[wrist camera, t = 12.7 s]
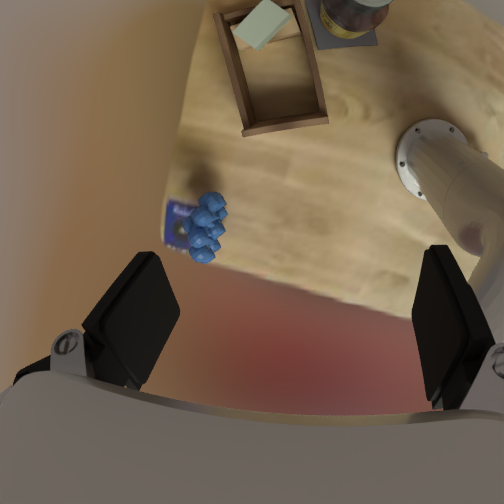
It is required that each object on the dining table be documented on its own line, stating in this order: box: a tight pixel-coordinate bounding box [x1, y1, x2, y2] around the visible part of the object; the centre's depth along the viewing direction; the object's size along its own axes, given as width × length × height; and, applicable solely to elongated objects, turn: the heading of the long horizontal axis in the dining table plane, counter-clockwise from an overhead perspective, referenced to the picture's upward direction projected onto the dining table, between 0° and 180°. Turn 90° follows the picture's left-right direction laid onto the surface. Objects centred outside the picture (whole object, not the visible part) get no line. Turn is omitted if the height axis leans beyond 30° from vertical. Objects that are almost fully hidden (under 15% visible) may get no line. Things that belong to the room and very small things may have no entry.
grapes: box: [181, 192, 228, 264], centre depth 44 cm, size 12×7×12 cm, turn 173°
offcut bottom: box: [230, 8, 301, 51], centre depth 30 cm, size 8×4×4 cm, turn 109°
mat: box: [305, 0, 378, 50], centre depth 28 cm, size 8×8×1 cm
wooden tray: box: [213, 0, 329, 137], centre depth 32 cm, size 11×17×6 cm, turn 14°
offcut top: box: [232, 0, 292, 51], centre depth 27 cm, size 6×4×3 cm, turn 140°
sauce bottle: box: [320, 0, 393, 39], centre depth 20 cm, size 7×6×20 cm
